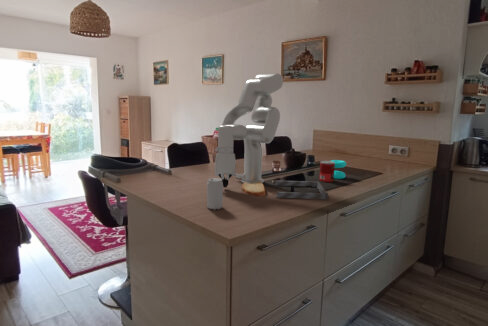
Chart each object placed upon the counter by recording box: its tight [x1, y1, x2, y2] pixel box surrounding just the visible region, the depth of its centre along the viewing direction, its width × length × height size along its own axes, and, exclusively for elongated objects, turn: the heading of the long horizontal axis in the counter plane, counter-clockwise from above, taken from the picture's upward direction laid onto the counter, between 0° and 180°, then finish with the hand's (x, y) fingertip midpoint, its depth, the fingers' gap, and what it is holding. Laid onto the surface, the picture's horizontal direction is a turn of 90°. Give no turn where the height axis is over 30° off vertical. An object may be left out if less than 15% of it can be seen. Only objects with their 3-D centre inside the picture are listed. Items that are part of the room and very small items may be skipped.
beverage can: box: [206, 177, 224, 211], centre depth 133 cm, size 6×6×12 cm
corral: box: [274, 179, 329, 200], centre depth 162 cm, size 23×24×2 cm
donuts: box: [330, 159, 347, 180], centre depth 195 cm, size 10×10×10 cm
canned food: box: [319, 160, 336, 183], centre depth 186 cm, size 8×8×11 cm
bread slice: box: [241, 181, 266, 198], centre depth 163 cm, size 18×18×4 cm
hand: (225, 186), depth 163 cm, fingers closed
